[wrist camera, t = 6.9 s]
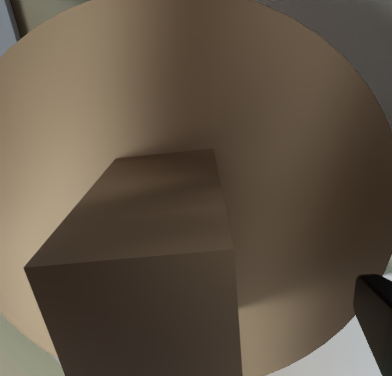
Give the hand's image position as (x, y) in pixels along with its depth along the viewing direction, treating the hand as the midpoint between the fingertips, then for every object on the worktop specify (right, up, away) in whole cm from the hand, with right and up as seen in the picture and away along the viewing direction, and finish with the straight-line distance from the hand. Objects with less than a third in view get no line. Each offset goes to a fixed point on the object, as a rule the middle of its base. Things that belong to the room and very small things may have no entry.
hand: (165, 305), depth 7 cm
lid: (0, +1, +3) cm, 4 cm away
